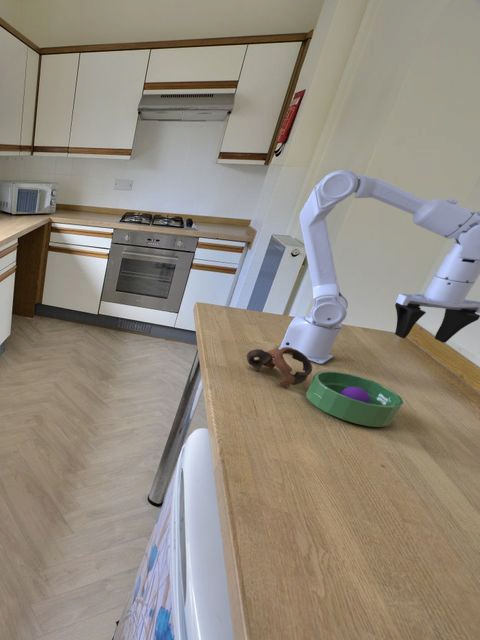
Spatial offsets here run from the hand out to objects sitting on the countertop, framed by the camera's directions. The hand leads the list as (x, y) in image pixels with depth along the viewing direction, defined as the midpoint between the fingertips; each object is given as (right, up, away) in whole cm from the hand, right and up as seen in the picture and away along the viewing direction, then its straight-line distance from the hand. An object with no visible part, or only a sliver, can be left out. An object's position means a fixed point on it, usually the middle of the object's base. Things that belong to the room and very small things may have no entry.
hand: (419, 338), depth 90 cm
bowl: (-24, -14, -8) cm, 29 cm away
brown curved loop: (-31, -9, +3) cm, 32 cm away
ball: (-24, -12, -10) cm, 28 cm away
